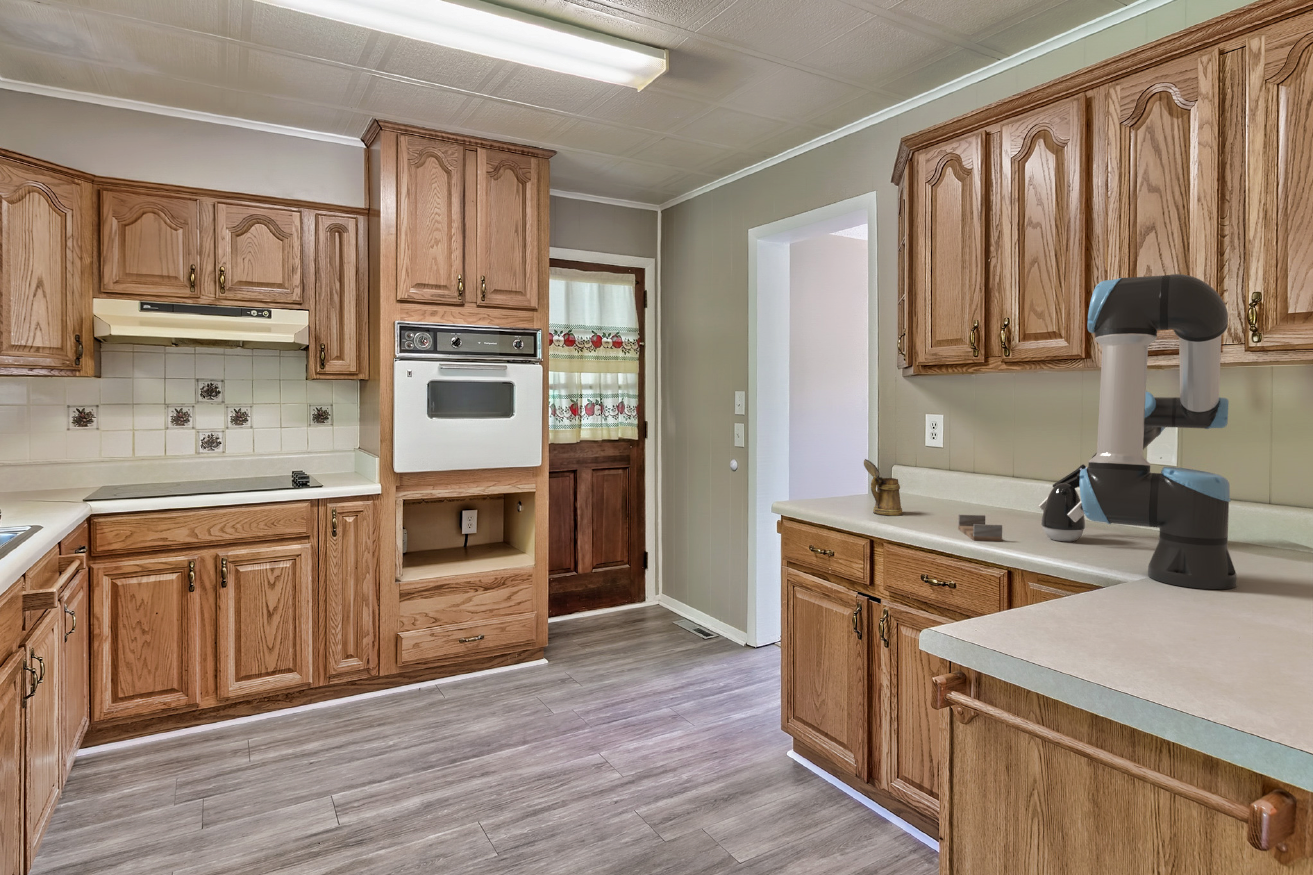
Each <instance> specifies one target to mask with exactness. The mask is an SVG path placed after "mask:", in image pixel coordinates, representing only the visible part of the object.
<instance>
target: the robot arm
mask: <svg viewBox="0 0 1313 875" xmlns="http://www.w3.org/2000/svg"><path fill="white" fill-rule="evenodd" d="M1086 325H1087V331H1088V332H1089V333H1091V334H1094V341H1095V342H1096V343H1097V344H1098V345H1100V346H1101V350H1102V351H1101V364H1100V365H1101V367H1100V368H1101V369H1100V370H1101V371H1100V386H1099V388H1100V389H1099V406H1098V407H1099V409H1098V422H1097V424H1098V425H1097V426H1098V427H1097V440H1096V441H1097V446H1096V452H1095V453H1094V454H1093V455H1092V456H1091V458H1090V459H1089V460H1088V464H1087V465H1088V466H1086V465H1085V464H1081V465H1080V466H1078V467H1077V468H1076V469H1075V470H1073V471H1072V472H1070V473H1068V474H1067V475H1066V476H1064V477H1062V478H1061V479H1060V480H1057V481H1056V482H1055V483H1054V484H1052V489H1053V488H1054V487H1055V486H1056V485H1058V484H1060V483H1067V484H1070V485H1072V486H1073V487H1074V488H1075V489H1077V488H1079V497H1080V502H1079V503H1078V504H1077V505H1076V506H1075V507H1074V508H1073V509H1072V510H1071V511H1070V512H1069V513H1068V514H1067V515H1068V516H1069V517H1070V518H1071V519H1072V520H1073V521H1074V522H1077V521H1078V520H1079V519H1080V518H1081V517H1082V516H1083V515H1084V517H1086V518H1087V519H1088V520H1090V521H1091V522H1096V523H1097V522H1098V523H1106V524H1107V525H1111V524H1114V525H1115V524H1116V525H1124V526H1133V527H1134V526H1135V527H1144V528H1145V527H1147V528H1158V529H1159V537H1158V538H1159V539H1158V543H1157V544H1156V547H1155V550H1154V552H1153V554H1152V556H1151V559H1150V561H1149V563H1148V566H1147V576H1148V577H1149V578H1151V579H1152V580H1154V581H1158V582H1161V583H1164V584H1168V585H1174V586H1178V587H1184V588H1191V589H1201V590H1203V589H1204V590H1228V589H1233V588H1235V587H1237V581H1238V580H1237V579H1238V577H1237V572H1236V569H1235V566H1234V564H1233V561H1232V558H1231V554H1230V550H1229V549H1228V542H1229V541H1228V539H1229V515H1230V514H1229V513H1230V508H1229V507H1230V502H1231V501H1232V498H1231V495H1230V494H1231V492H1230V482H1229V480H1228V479H1227V478H1226V477H1224V476H1222V475H1220V474H1216V473H1213V472H1209V471H1204V470H1197V469H1192V468H1185V467H1174V466H1164V467H1162V469H1161V471H1160V473H1159V472H1158V473H1157V472H1151V463H1150V462H1149V461H1148V460H1146V458H1145V457H1144V456H1143V455H1144V454H1143V453H1144V450H1145V449H1146V448H1147V447H1148V446H1149V445H1150V444H1151V443H1152V442H1153V441H1154V440H1155V439H1156V438H1158V437H1159V436H1160V435H1161V434H1162V432H1163V431H1164V430H1165V428H1180V429H1181V428H1183V429H1205V430H1209V429H1223V428H1226V427H1228V421H1229V402H1230V401H1229V399H1228V398H1226V397H1220V380H1221V352H1222V336H1223V334H1225V333H1226V331H1227V330H1228V325H1229V313H1228V309H1227V306H1226V303H1225V302H1224V300H1223V298H1222V297H1221V295H1220V294H1219V293H1218V292H1217V291H1216V290H1215V288H1213V287H1212V286H1210V285H1209V283H1206V282H1205V281H1203V280H1202V279H1200V278H1197V277H1196V276H1195V277H1194V276H1192V275H1188V274H1182V273H1173V274H1168V275H1167V274H1166V275H1149V276H1147V275H1146V276H1132V277H1119V278H1115V279H1106V280H1102V281H1100V282H1099V283H1098V284H1097V285H1096V286H1095V287H1094V290H1093V292H1092V295H1091V298H1090V302H1089V307H1088V313H1087V324H1086ZM1163 330H1164V331H1166V330H1173V333H1174V334H1175V336H1177V338H1178V347H1179V348H1178V349H1179V350H1178V352H1179V354H1178V355H1179V397H1176V396H1175V397H1173V396H1172V397H1168V396H1167V397H1165V396H1164V397H1163V396H1161V397H1160V396H1159V397H1158V396H1156V397H1155V396H1154V395H1153V394H1152V393H1151V392H1149V391H1147V374H1148V373H1147V371H1148V355H1149V354H1148V353H1149V346H1151V345H1152V343H1154V342H1155V341H1156V340H1157V339H1158V331H1163ZM1047 499H1048V496H1047V497H1046V498H1045V499H1043V501H1042V502H1040V504H1039V505H1038V507H1039V509H1041V511H1042V512H1043V511H1044V507H1045V504H1046V501H1047Z"/></svg>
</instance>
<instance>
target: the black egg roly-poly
mask: <svg viewBox="0 0 1313 875" xmlns="http://www.w3.org/2000/svg"><path fill="white" fill-rule="evenodd" d="M1047 497H1048V499H1047V501H1046V504H1045V507H1044V511H1043V510H1042V512H1043V513H1042V515H1041V526H1042V530H1043V532H1044V534H1045V535H1046V536H1047V537H1048V538H1049V539H1051V540H1053V541H1056V542H1065V543H1066V542H1069V543H1070V542H1074V541H1076V540H1077V541H1078V539H1079V538H1080V537H1081V536H1082V535H1083V533H1084V530H1085V528H1086V521H1085V520H1086V519H1085V514H1084V515H1083V516H1082V517H1081V518H1080V519H1079V520H1078V521H1077V522H1074V521H1073V520H1072V519H1071V518H1070V517H1069V516H1068V515H1067V514H1068V513H1069V512H1070V511H1071V510H1072V509H1073V508H1074V507H1075V506H1076V505H1077V504H1078V503H1079V502H1080V501H1081V497H1080V494H1078V491H1077V490H1076V488H1074V487H1073V486H1072V485H1070V484H1067V483H1060V484H1058V485H1056V486H1055V487H1054V488H1053V487H1052V489H1051V491H1050V492H1049V494H1048V496H1047Z"/></svg>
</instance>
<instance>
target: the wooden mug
mask: <svg viewBox="0 0 1313 875" xmlns="http://www.w3.org/2000/svg"><path fill="white" fill-rule="evenodd" d="M863 466H864V468H865V470H866V471H867V472H868V473H869V474H870V475H871V476H872V479H871V482H870V491H871V494H872V496H873V498H874V501H875V502H874V507H873V511H872V513H873V514H876V515H879V516H889V517H891V516H892V517H895V516H902V515H903V514H904V511H903V508H902V506H901V504H902V503H901V496H900V489H901V486H900V483H899V479H898V478H894V477H884V478H883V477H882V476H880V471H879V468H878V467H877V466H876V465H875V464H874V463H873V462H872V461H870V460H868V459H867V458H864V460H863Z"/></svg>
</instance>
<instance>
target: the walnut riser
mask: <svg viewBox="0 0 1313 875" xmlns="http://www.w3.org/2000/svg"><path fill="white" fill-rule="evenodd" d="M957 529H958V530H959V531H960V532H961V533H963V534H964V535H966V536H967V537H968V538H970V539H971V540H973V541H974V542H975V541H977V542H978V541H979V542H1003V525H1002V524H986V515H985V514H984V515H983V514H958V528H957Z"/></svg>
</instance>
